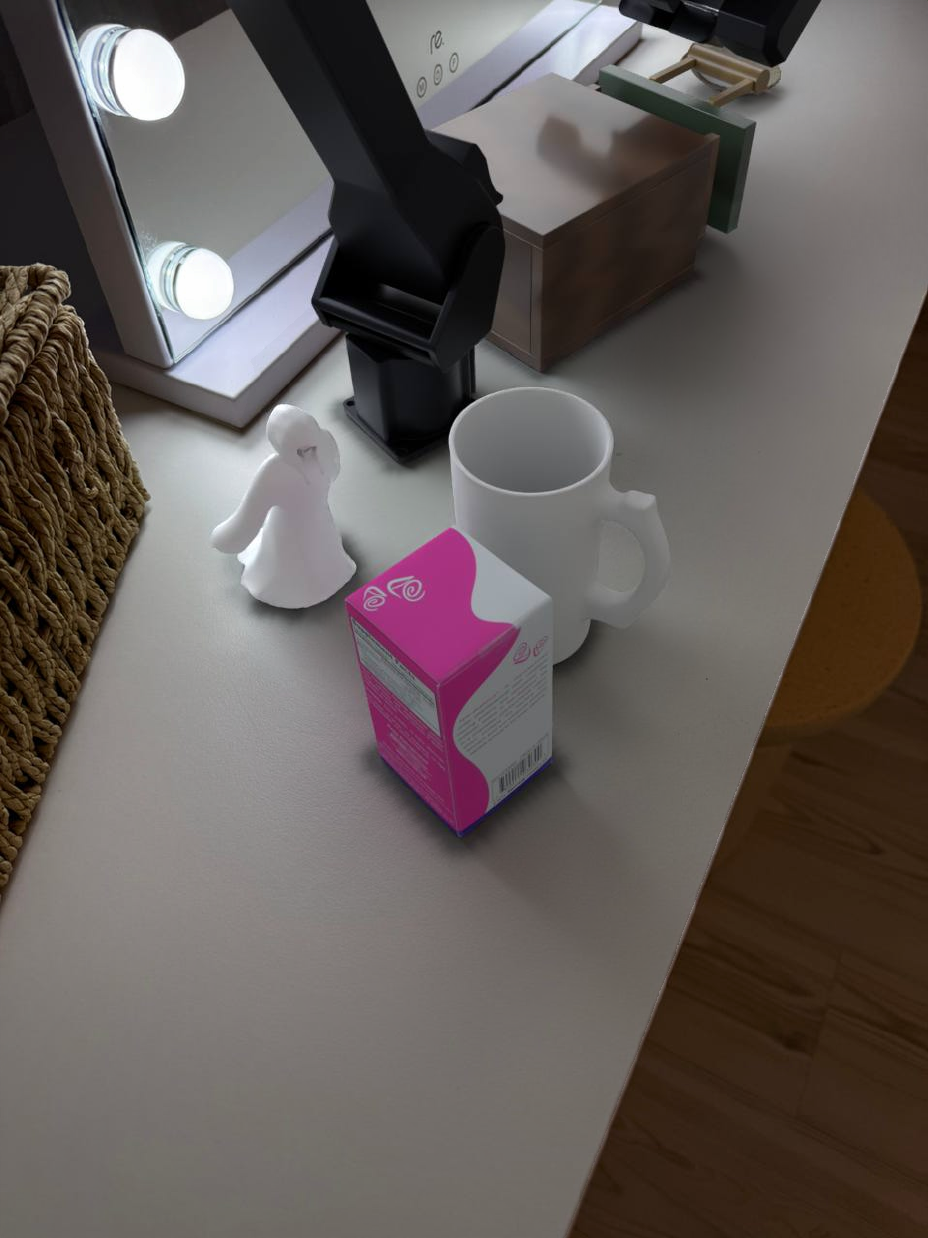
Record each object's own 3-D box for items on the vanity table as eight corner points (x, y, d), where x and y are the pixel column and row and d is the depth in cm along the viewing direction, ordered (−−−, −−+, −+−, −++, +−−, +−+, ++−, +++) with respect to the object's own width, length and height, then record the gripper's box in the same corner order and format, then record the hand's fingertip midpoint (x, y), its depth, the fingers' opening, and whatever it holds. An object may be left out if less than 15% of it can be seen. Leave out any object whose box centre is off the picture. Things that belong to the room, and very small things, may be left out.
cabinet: (548, 201, 77) (551, 71, 69) (693, 274, 70) (714, 139, 63) (396, 283, 71) (383, 151, 63) (540, 372, 64) (543, 235, 57)
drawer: (654, 138, 80) (666, 26, 74) (788, 196, 74) (813, 80, 68) (471, 236, 72) (467, 122, 66) (605, 311, 66) (614, 192, 60)
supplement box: (468, 685, 49) (457, 516, 40) (555, 763, 46) (564, 601, 38) (373, 756, 47) (339, 594, 38) (458, 843, 44) (444, 690, 35)
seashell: (752, 133, 85) (791, 71, 88) (761, 102, 82) (801, 39, 85) (662, 96, 87) (703, 37, 89) (668, 65, 84) (710, 5, 87)
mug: (435, 641, 51) (417, 461, 42) (500, 553, 55) (498, 368, 45) (620, 724, 48) (647, 548, 38) (677, 624, 51) (714, 440, 42)
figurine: (294, 649, 51) (244, 471, 42) (191, 573, 55) (124, 393, 45) (398, 560, 55) (374, 377, 45) (295, 494, 58) (253, 312, 49)
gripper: (863, -243, 49) (920, -48, 62) (578, -294, 58) (680, -114, 71) (732, -11, 52) (813, 128, 65) (480, -94, 61) (595, 43, 74)
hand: (723, 39), depth 69 cm, fingers closed
